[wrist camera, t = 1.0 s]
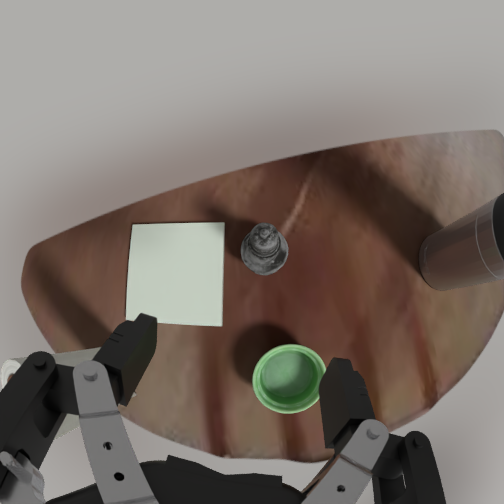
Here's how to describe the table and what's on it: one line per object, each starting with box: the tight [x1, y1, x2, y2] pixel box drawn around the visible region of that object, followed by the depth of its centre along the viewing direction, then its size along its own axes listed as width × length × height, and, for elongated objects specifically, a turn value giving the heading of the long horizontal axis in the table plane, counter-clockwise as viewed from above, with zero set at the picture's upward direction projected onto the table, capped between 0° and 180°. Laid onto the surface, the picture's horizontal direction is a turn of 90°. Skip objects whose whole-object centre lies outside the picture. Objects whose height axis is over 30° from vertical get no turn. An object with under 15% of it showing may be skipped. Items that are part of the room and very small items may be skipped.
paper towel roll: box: [1, 347, 137, 439], centre depth 25 cm, size 7×6×21 cm
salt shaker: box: [241, 223, 288, 275], centre depth 32 cm, size 6×6×12 cm
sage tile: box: [126, 222, 225, 326], centre depth 38 cm, size 14×14×1 cm
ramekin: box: [252, 344, 326, 413], centre depth 33 cm, size 9×9×4 cm
